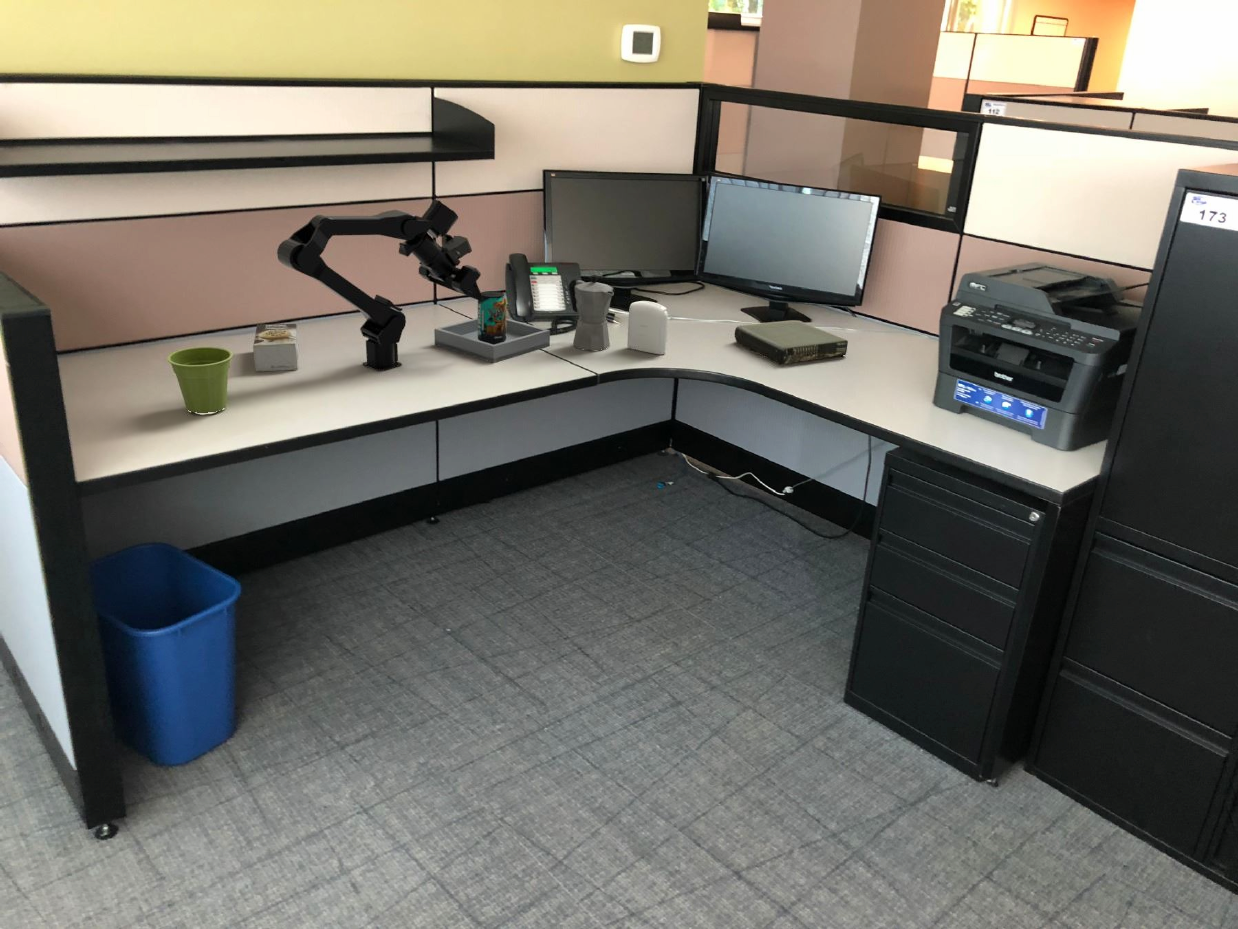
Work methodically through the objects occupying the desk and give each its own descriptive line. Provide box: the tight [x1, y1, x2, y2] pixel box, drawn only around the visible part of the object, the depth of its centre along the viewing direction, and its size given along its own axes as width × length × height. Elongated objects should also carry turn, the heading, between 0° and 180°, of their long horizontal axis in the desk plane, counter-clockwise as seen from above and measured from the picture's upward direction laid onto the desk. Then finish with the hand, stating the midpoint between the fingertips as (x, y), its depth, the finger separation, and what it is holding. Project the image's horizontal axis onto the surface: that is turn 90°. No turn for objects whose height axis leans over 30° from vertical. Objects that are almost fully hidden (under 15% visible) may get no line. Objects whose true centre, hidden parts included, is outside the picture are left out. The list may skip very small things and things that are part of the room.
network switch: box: [734, 319, 849, 366], centre depth 260 cm, size 23×24×5 cm
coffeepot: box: [568, 274, 615, 352], centre depth 252 cm, size 15×9×18 cm, turn 45°
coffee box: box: [252, 323, 300, 372], centre depth 230 cm, size 9×6×16 cm
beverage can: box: [477, 290, 508, 345], centre depth 248 cm, size 7×7×12 cm
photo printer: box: [626, 300, 669, 355], centre depth 251 cm, size 10×4×12 cm, turn 60°
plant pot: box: [166, 346, 234, 413], centre depth 199 cm, size 12×12×11 cm
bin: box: [434, 317, 551, 364], centre depth 250 cm, size 20×20×4 cm
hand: (470, 294), depth 242 cm, fingers open, 9 cm apart
